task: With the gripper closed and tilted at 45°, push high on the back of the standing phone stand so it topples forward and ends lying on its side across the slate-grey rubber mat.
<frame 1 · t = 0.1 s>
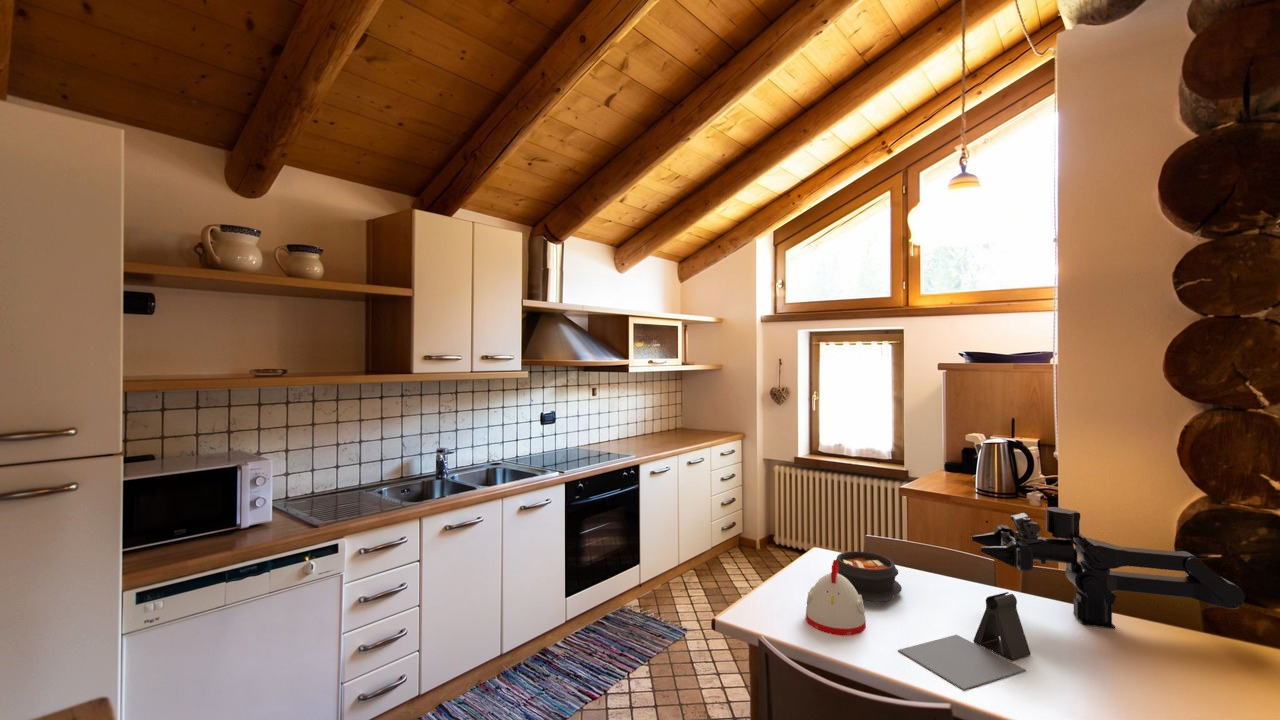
hand: (976, 543, 147), 17 cm above the table, tool horizontal, fingers open, 9 cm apart
kitchen timer: (835, 622, 139), on the table
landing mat: (959, 660, 121), on the table
casserole: (865, 590, 158), on the table
phone stand: (1001, 649, 126), on the table
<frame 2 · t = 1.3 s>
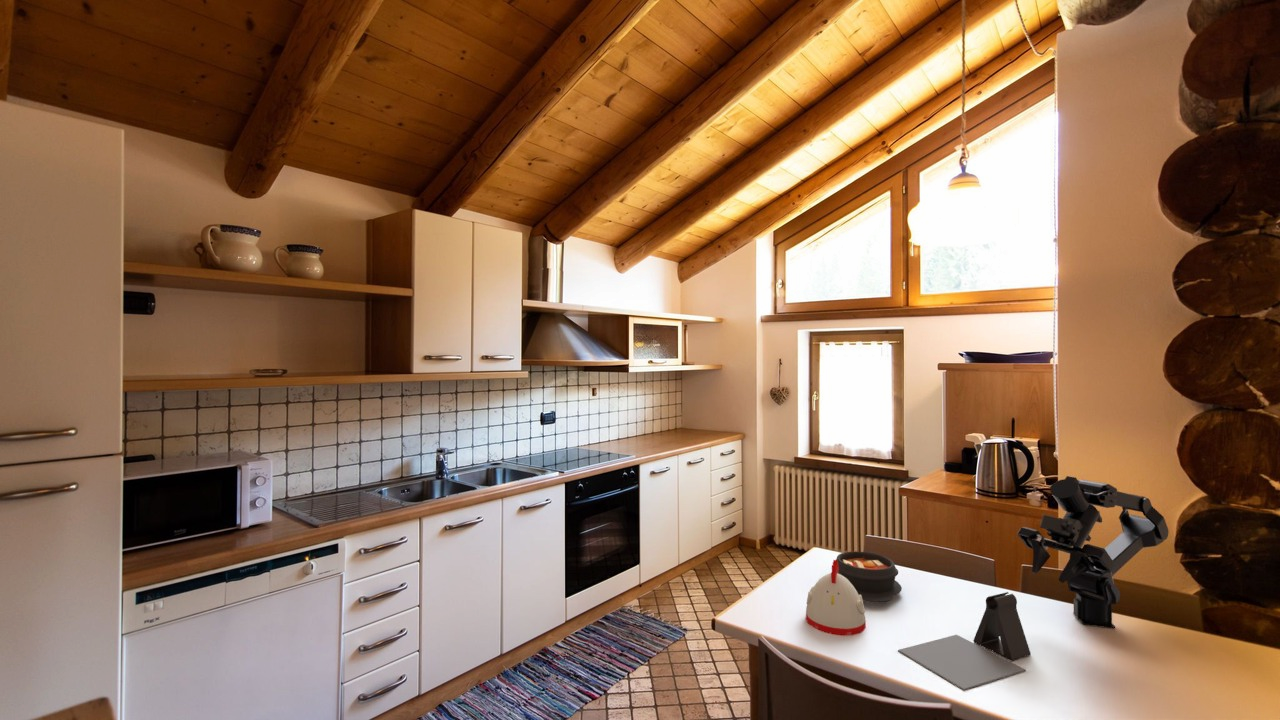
hand: (1046, 577, 132), 14 cm above the table, tool tilted 45°, fingers open, 6 cm apart
nothing on the table moved.
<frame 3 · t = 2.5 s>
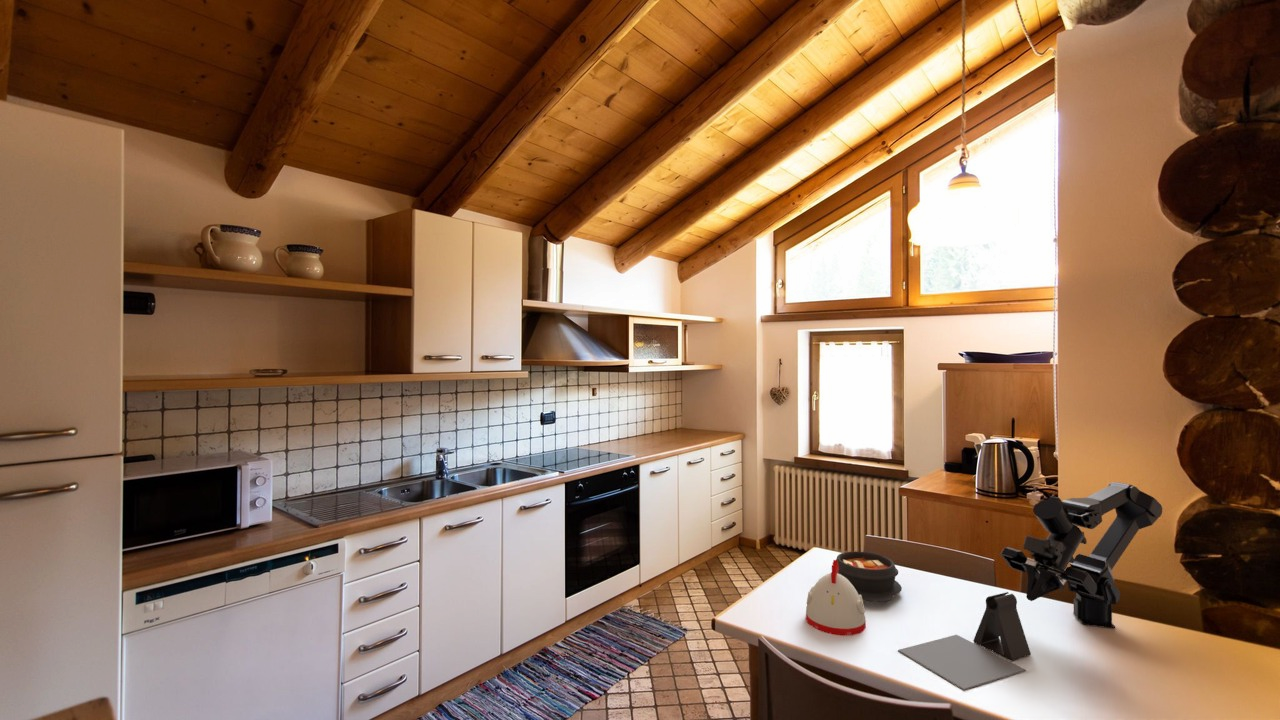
hand: (1028, 599, 129), 9 cm above the table, tool tilted 45°, fingers closed
nothing on the table moved.
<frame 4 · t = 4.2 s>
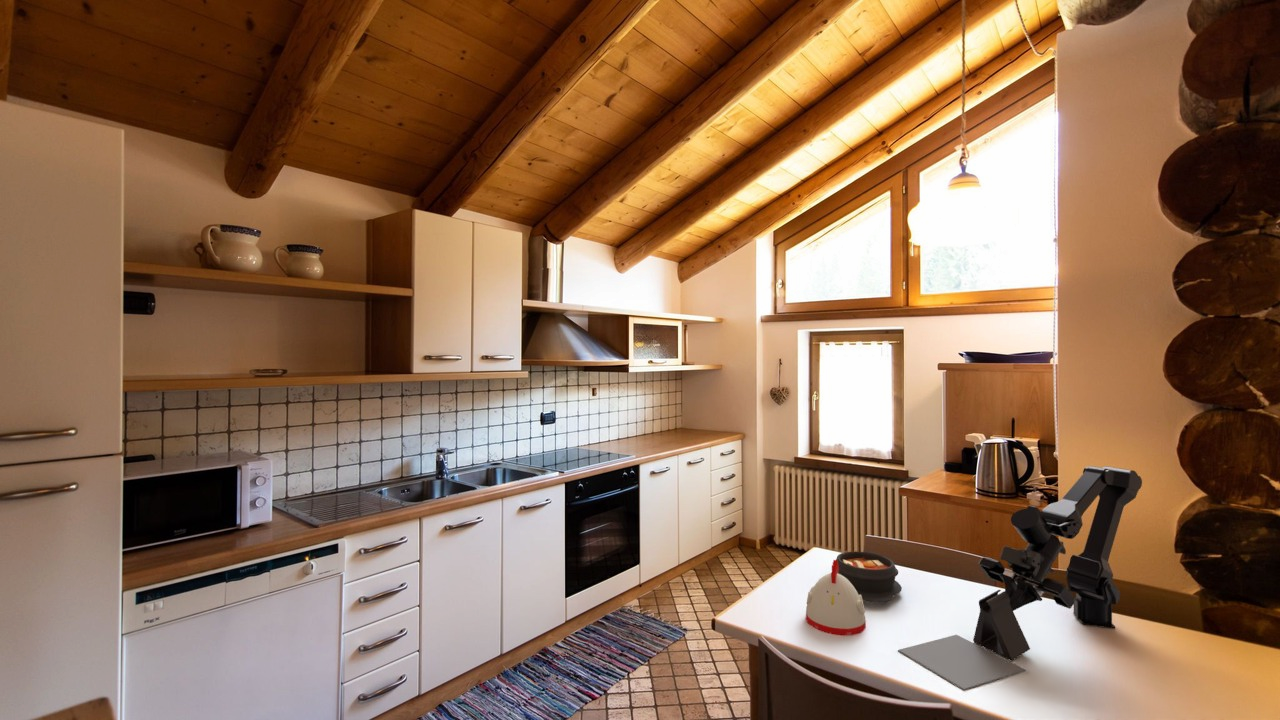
hand: (1005, 611, 126), 8 cm above the table, tool tilted 45°, fingers closed
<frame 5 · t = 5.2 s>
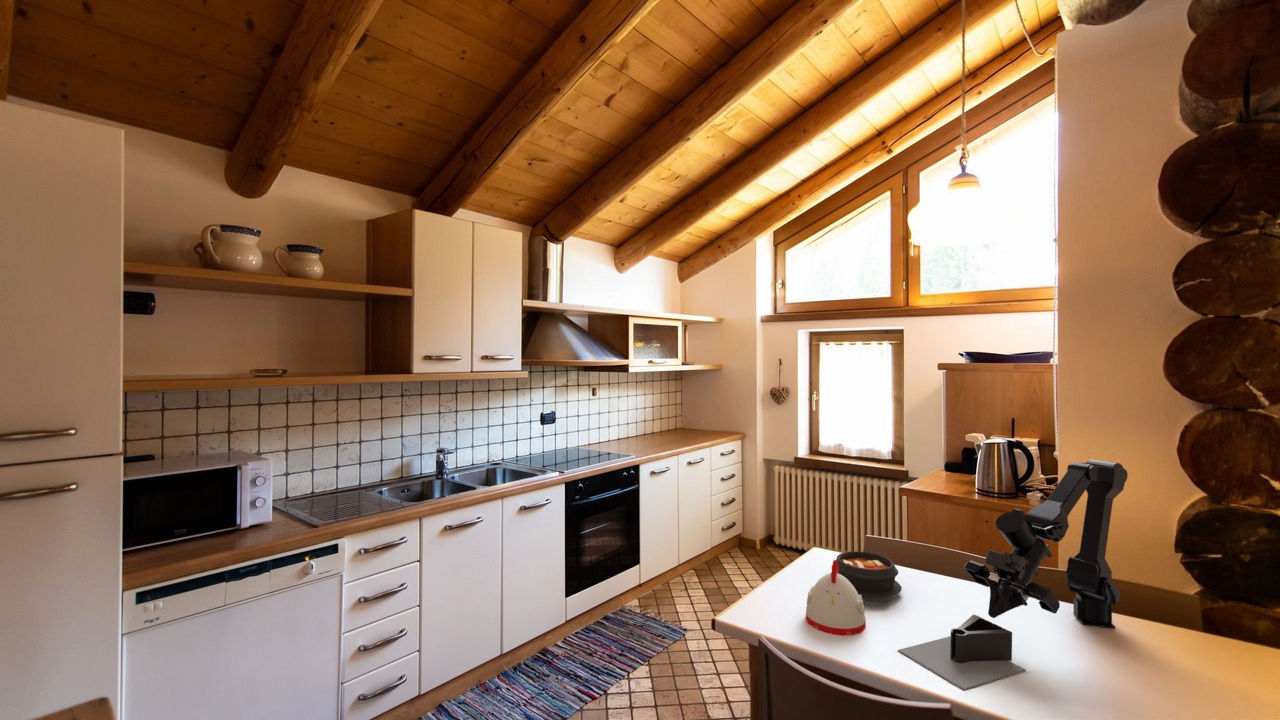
hand: (990, 616, 125), 8 cm above the table, tool tilted 45°, fingers closed
phone stand: (993, 636, 125), point 3 cm above the table, touching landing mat
everything else where it was.
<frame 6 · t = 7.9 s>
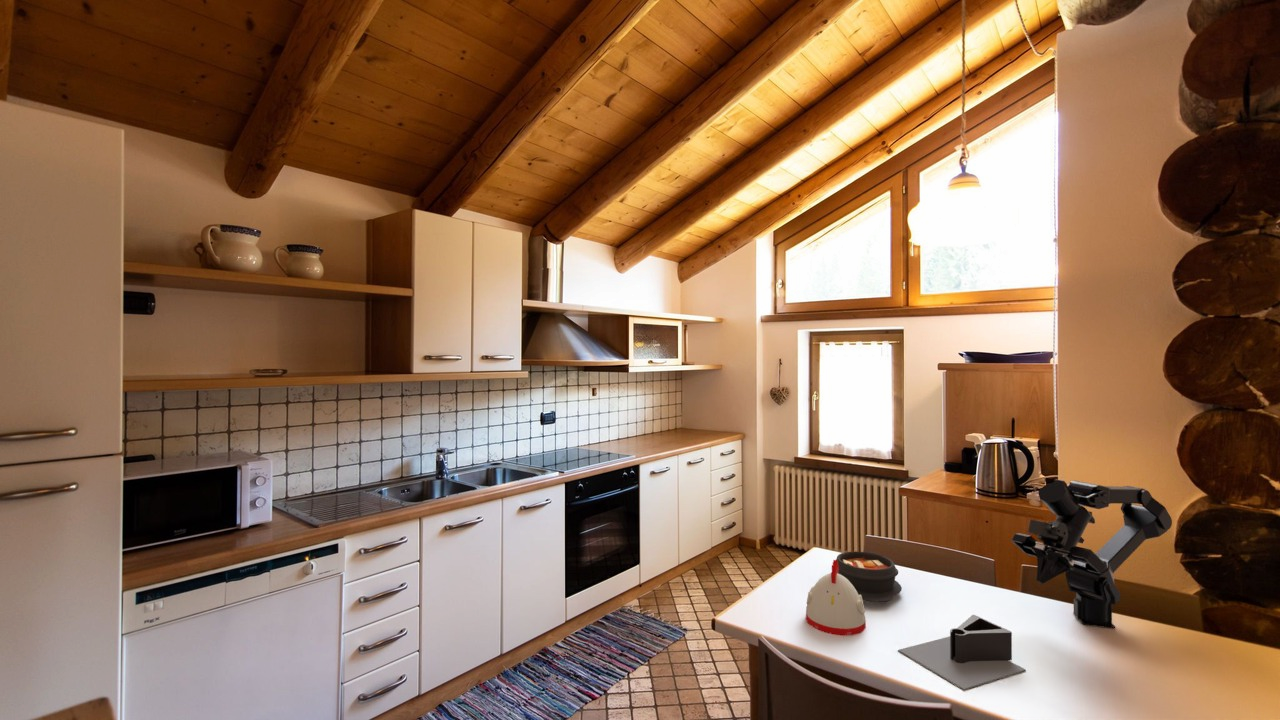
hand: (1039, 582, 132), 12 cm above the table, tool tilted 40°, fingers closed
nothing on the table moved.
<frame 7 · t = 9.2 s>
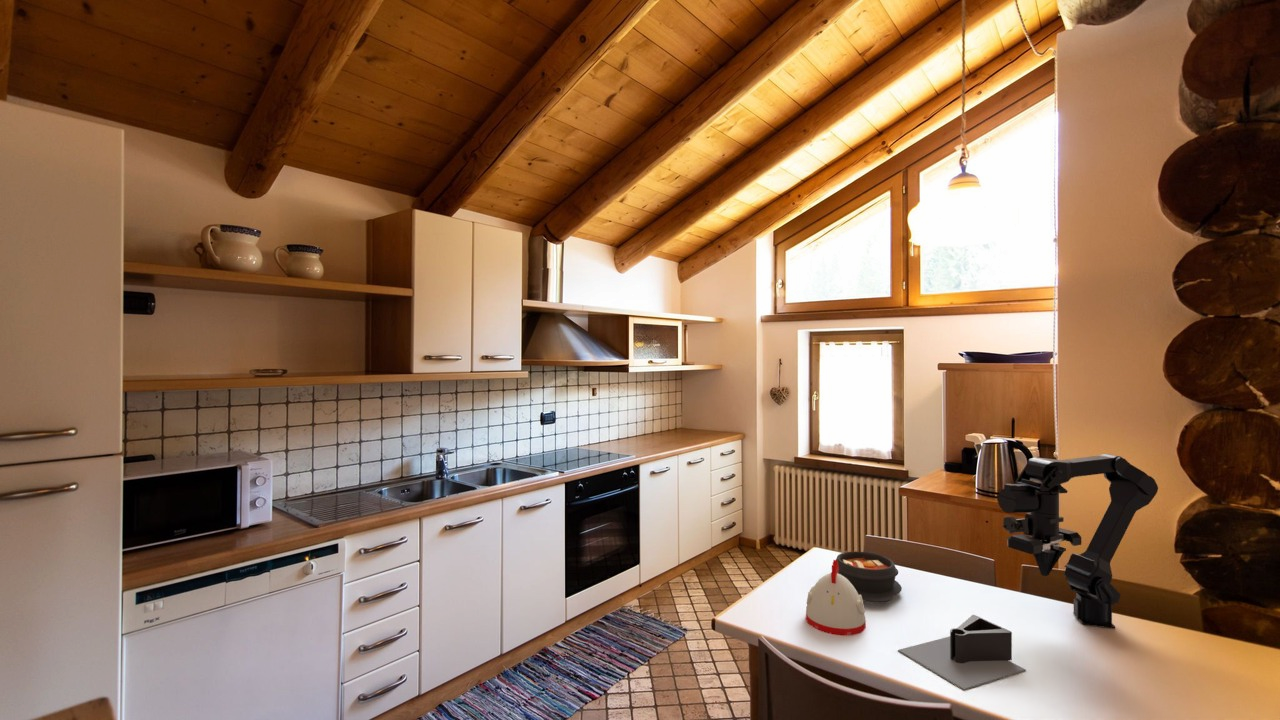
hand: (1044, 575, 137), 12 cm above the table, tool pointing down, fingers closed
nothing on the table moved.
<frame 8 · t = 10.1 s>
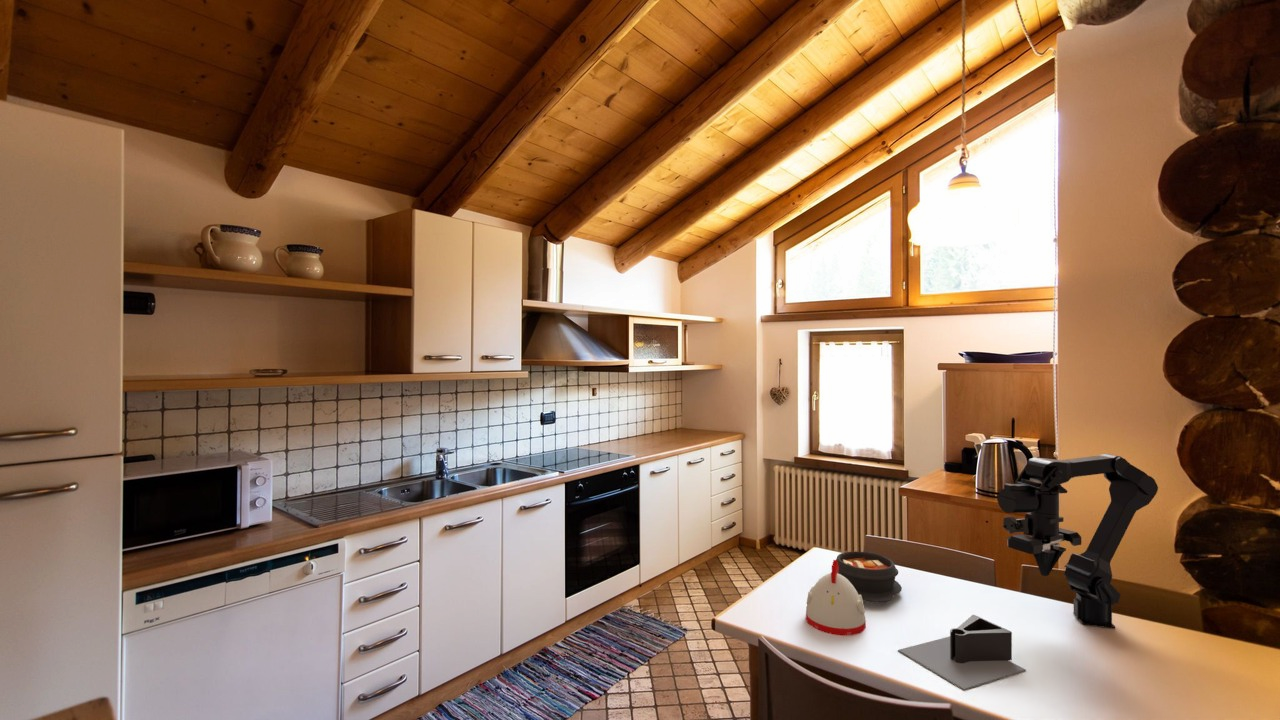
hand: (1044, 575, 137), 12 cm above the table, tool pointing down, fingers closed
nothing on the table moved.
at the end: phone stand tilted 90°; phone stand touching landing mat; phone stand moved 4.2 cm from its start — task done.
